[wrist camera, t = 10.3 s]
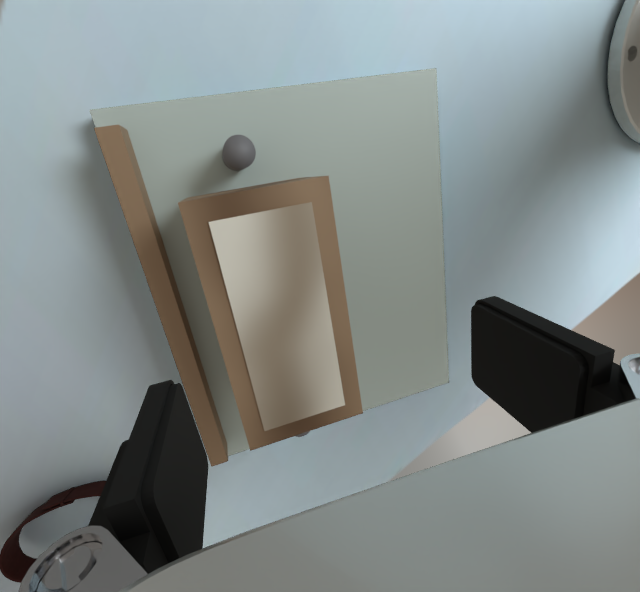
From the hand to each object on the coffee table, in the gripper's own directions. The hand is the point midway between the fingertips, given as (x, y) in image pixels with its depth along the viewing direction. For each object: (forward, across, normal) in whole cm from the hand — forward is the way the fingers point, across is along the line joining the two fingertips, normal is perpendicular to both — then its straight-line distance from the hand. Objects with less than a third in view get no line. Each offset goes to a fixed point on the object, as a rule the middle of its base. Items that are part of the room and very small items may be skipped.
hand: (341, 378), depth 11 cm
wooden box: (+11, +1, 0) cm, 11 cm away
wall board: (+12, -2, 0) cm, 12 cm away
